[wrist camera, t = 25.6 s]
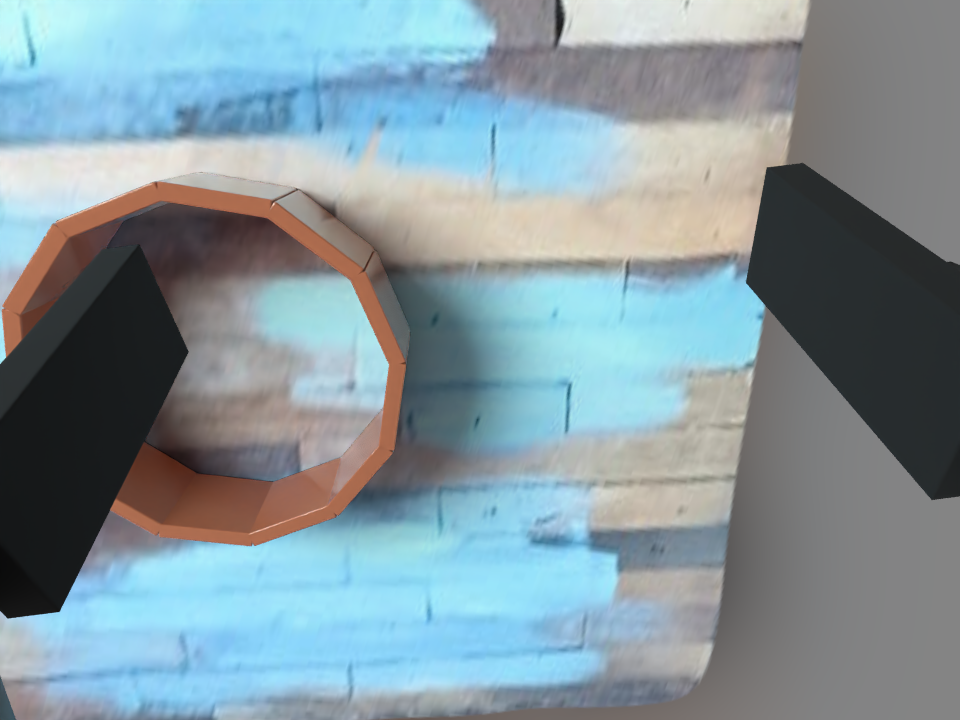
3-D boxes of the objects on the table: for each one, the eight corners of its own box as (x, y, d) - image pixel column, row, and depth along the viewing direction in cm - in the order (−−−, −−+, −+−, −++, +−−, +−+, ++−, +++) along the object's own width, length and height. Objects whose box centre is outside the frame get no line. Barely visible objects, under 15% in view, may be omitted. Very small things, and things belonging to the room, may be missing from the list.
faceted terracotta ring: (427, 209, 32) (426, 225, 27) (386, 505, 38) (379, 559, 33) (57, 147, 30) (-15, 153, 25) (75, 471, 36) (20, 523, 31)
